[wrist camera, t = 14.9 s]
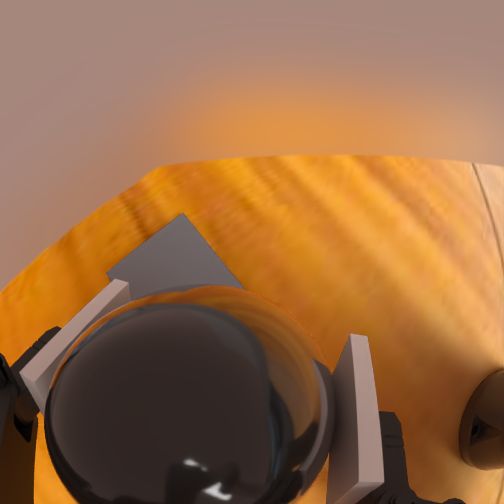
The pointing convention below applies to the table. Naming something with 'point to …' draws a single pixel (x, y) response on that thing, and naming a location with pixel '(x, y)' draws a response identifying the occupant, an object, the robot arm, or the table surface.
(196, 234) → the mat
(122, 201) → the table surface
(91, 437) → the pump dispenser
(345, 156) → the table surface
